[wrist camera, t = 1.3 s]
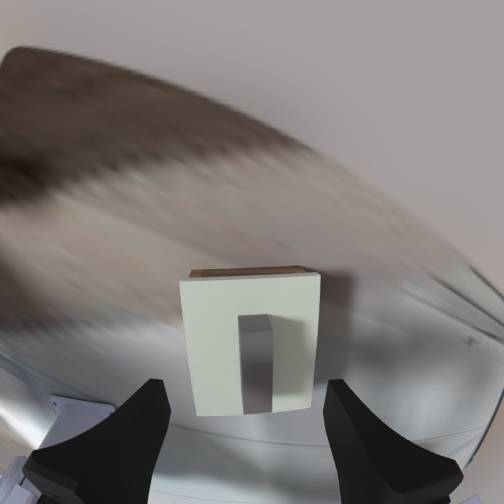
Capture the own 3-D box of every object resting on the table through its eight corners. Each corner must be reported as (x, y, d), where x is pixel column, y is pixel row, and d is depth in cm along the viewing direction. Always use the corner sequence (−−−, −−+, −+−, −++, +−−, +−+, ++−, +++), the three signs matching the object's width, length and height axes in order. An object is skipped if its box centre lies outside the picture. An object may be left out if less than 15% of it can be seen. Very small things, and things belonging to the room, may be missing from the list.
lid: (307, 401, 20) (319, 428, 17) (197, 409, 19) (194, 438, 16) (316, 272, 18) (335, 286, 15) (181, 278, 18) (172, 294, 14)
